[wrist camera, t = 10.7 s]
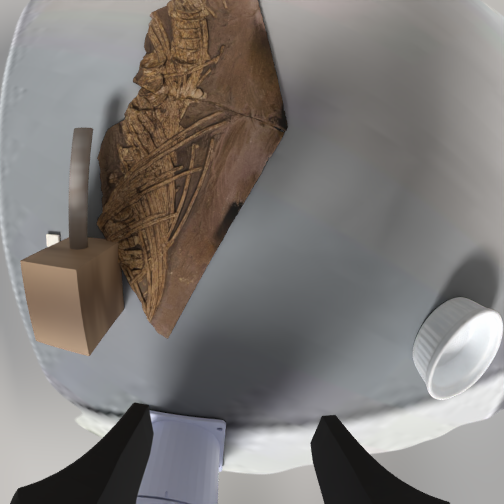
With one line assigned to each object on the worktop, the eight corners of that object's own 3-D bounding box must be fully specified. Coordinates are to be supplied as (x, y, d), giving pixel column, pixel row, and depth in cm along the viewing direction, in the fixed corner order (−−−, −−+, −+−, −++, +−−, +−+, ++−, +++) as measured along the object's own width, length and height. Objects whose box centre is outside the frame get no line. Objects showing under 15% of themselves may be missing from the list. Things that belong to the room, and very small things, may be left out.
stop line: (67, 310, 18) (66, 311, 18) (56, 307, 18) (54, 308, 18) (59, 234, 17) (58, 235, 17) (47, 233, 17) (46, 234, 17)
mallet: (124, 308, 19) (89, 356, 13) (78, 300, 18) (36, 340, 13) (128, 132, 16) (80, 117, 10) (76, 134, 15) (21, 126, 9)
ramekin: (392, 377, 22) (412, 407, 18) (426, 287, 19) (458, 310, 15) (454, 368, 22) (475, 391, 18) (487, 292, 20) (515, 309, 16)
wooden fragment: (173, -21, 12) (170, -29, 11) (321, 8, 14) (325, 1, 13) (83, 307, 19) (78, 313, 18) (221, 347, 20) (220, 355, 19)
